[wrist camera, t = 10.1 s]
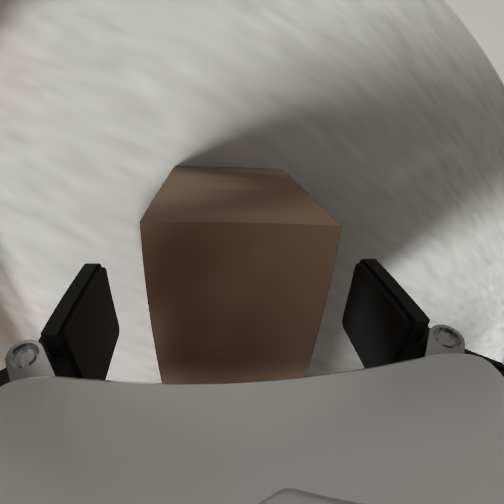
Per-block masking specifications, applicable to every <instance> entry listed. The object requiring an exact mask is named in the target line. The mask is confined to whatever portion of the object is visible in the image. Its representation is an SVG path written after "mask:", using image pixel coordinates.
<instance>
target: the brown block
mask: <svg viewBox="0 0 504 504" xmlns="http://www.w3.org/2000/svg"><path fill="white" fill-rule="evenodd" d="M341 227H342V226H341V225H340V224H339V223H338V222H337V221H336V220H335V219H334V218H333V217H332V216H331V215H330V214H329V213H328V212H327V211H326V210H325V209H324V208H323V207H322V206H321V205H320V204H319V203H318V202H317V201H315V200H314V199H313V198H312V197H311V196H310V195H309V194H308V193H307V192H306V191H305V190H304V189H303V188H302V187H300V186H299V185H298V184H297V183H296V182H295V181H294V180H293V179H292V178H291V177H290V176H288V175H287V174H286V173H285V172H284V171H283V170H276V169H259V168H236V167H191V166H175V167H174V168H173V170H172V171H171V173H170V174H169V176H168V177H167V179H166V180H165V182H164V183H163V185H162V187H161V188H160V190H159V191H158V193H157V194H156V196H155V198H154V199H153V201H152V202H151V204H150V206H149V207H148V209H147V211H146V212H145V214H144V216H143V217H142V219H141V221H140V230H141V242H142V254H143V264H144V273H145V282H146V290H147V298H148V305H149V312H150V319H151V325H152V332H153V338H154V343H155V349H156V355H157V360H158V365H159V370H160V375H161V380H162V383H174V384H197V383H234V382H252V381H267V380H279V379H290V378H299V377H306V374H307V370H308V367H309V363H310V360H311V356H312V353H313V349H314V345H315V341H316V338H317V334H318V330H319V326H320V322H321V318H322V314H323V310H324V306H325V302H326V298H327V293H328V289H329V285H330V280H331V276H332V271H333V267H334V262H335V257H336V252H337V247H338V242H339V237H340V232H341Z"/></svg>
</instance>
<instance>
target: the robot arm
mask: <svg viewBox="0 0 504 504" xmlns="http://www.w3.org/2000/svg"><path fill="white" fill-rule="evenodd" d="M429 321H430V319H429V318H428V317H427V316H426V314H425V313H424V312H423V311H422V310H421V309H420V307H419V306H418V305H417V304H416V303H415V302H414V301H413V299H412V298H411V297H410V296H409V295H408V294H407V293H406V292H405V290H404V289H403V288H402V287H401V286H400V285H399V284H398V283H397V282H396V280H395V279H394V278H393V277H392V276H391V275H390V274H389V273H388V272H387V271H386V270H385V269H384V267H383V266H382V265H381V264H380V263H379V262H378V261H377V260H376V259H362V260H360V262H359V263H357V264H356V266H355V270H354V274H353V278H352V283H351V287H350V291H349V295H348V299H347V303H346V307H345V311H344V315H343V320H342V324H343V328H344V330H345V331H346V333H347V335H348V337H349V339H350V341H351V343H352V344H353V346H354V348H355V350H356V352H357V354H358V356H359V358H360V360H361V361H362V363H363V365H364V367H365V369H359V370H352V371H346V372H339V373H332V374H325V375H317V376H308V377H299V378H290V379H279V380H267V381H252V382H234V383H197V384H174V383H140V382H123V381H109V380H105V379H106V376H107V372H108V369H109V365H110V362H111V358H112V355H113V352H114V349H115V345H116V342H117V339H118V336H119V324H118V320H117V316H116V312H115V308H114V304H113V300H112V295H111V291H110V286H109V282H108V277H107V272H106V269H105V268H104V267H101V265H100V264H85V265H84V266H83V267H82V269H81V270H80V272H79V273H78V275H77V276H76V277H75V279H74V280H73V282H72V284H71V285H70V287H69V288H68V290H67V291H66V293H65V294H64V296H63V297H62V299H61V301H60V302H59V304H58V305H57V307H56V309H55V310H54V312H53V314H52V315H51V317H50V319H49V320H48V322H47V324H46V325H45V327H44V329H43V331H42V332H41V337H40V339H39V341H36V340H24V341H20V342H18V343H17V344H15V345H14V346H13V347H11V348H10V350H9V351H8V353H7V355H6V358H5V361H6V368H4V369H3V370H1V371H0V504H504V363H503V364H502V363H501V362H497V361H495V360H492V359H490V358H487V357H484V356H482V355H479V354H476V353H474V352H471V351H469V350H466V349H465V342H464V338H463V337H462V335H461V334H460V333H459V332H458V331H457V330H455V329H454V328H452V327H449V326H446V325H435V326H433V327H432V328H431V329H430V328H429V327H428V324H429Z"/></svg>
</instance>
